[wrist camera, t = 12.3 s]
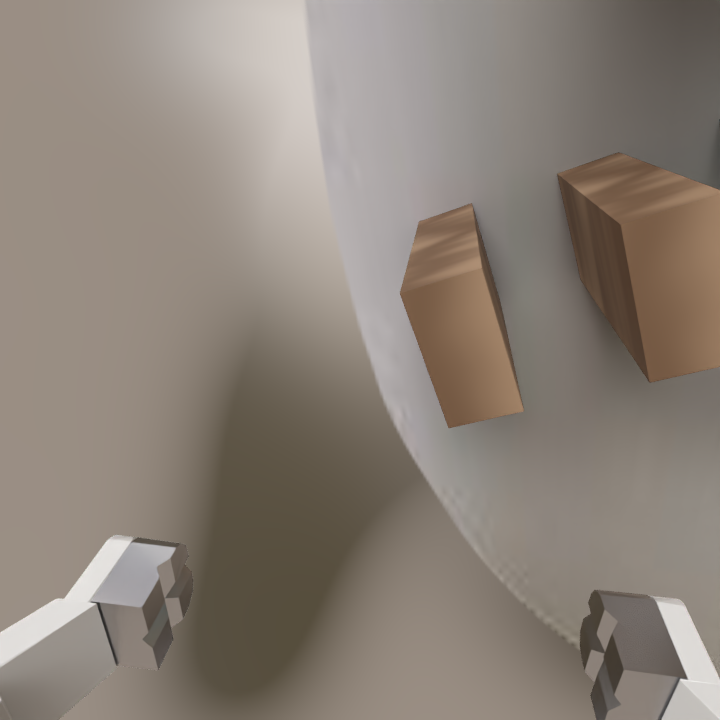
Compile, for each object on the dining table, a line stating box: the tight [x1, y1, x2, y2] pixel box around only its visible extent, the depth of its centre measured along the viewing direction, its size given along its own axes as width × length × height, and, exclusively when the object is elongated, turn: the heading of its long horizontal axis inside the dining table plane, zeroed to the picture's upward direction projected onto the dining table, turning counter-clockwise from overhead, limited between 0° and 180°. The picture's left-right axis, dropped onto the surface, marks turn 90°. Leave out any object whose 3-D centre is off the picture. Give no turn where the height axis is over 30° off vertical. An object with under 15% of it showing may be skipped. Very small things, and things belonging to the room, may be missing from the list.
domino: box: [557, 152, 720, 382], centre depth 23 cm, size 3×6×12 cm, turn 21°
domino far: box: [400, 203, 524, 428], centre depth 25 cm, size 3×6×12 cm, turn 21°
